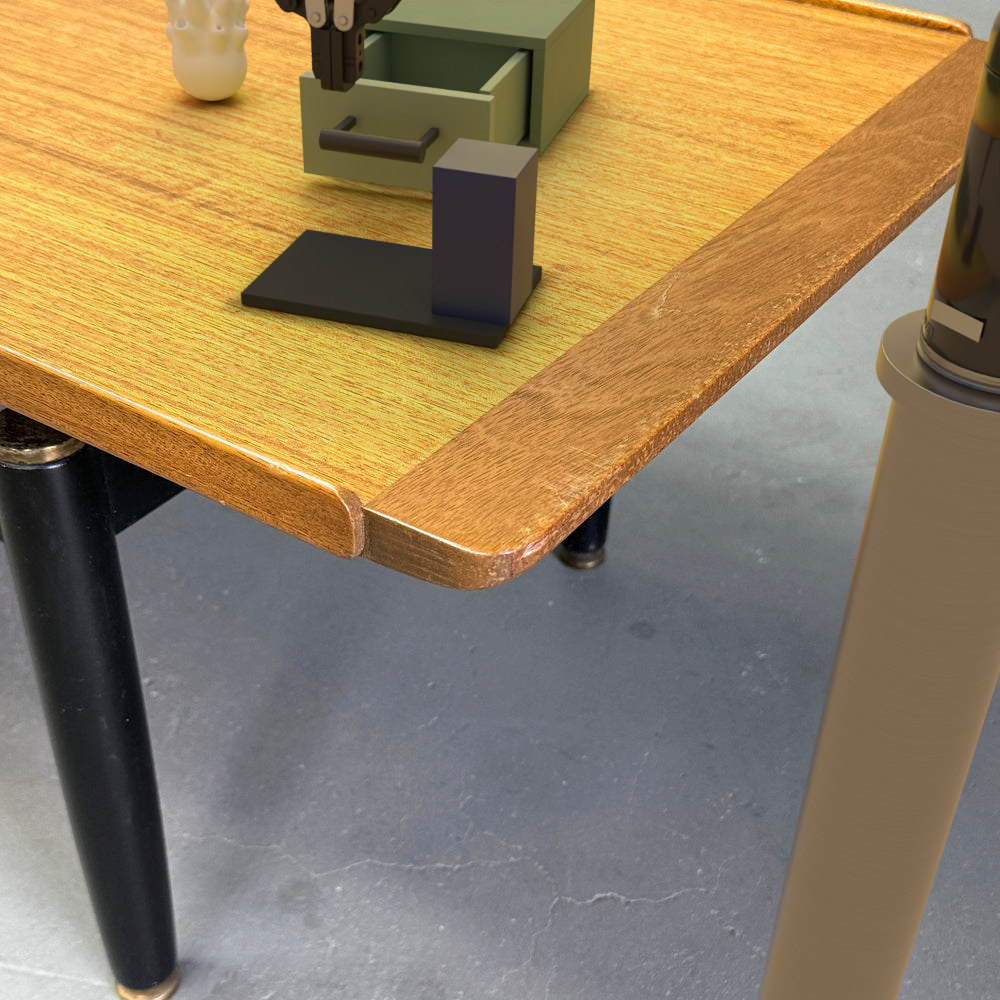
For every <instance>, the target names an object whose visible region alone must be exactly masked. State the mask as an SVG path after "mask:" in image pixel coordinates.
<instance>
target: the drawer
mask: <svg viewBox="0 0 1000 1000" xmlns="http://www.w3.org/2000/svg"><path fill="white" fill-rule="evenodd" d="M533 52H534V50H532V49H524V48H516V47H507V46H499V45H491V44H483V43H475V42H467V41H458V40H450V39H442V38H434V37H426V36H418V35H410V34H401V33H393V32H385V31H376V32H375V33H373V34H372V35H371V36H369V37H368V38H367V39H365V40H364V56H365V59H364V60H365V70H364V72H363V75H362V77H361V78H360V79H359V80H357V81H356V83H355V85H354V86H353V87H352V88H351V89H350V90H348V91H347V92H346V93H344V92H337V91H329V90H323V89H322V88H321V79H315V76H314V74H313V71H307V70H306V71H303V73H301V74H300V75H299V76H298V81H299V100H300V101H299V102H300V122H301V123H300V124H301V141H302V142H301V143H302V161H303V163H302V165H303V173H304V174H309V175H315V176H322V177H330V178H337V179H343V180H349V181H357V182H361V183H362V182H363V183H369V184H377V185H382V186H390V187H397V188H403V189H404V188H405V189H410V190H417V191H423V192H424V191H425V192H431V193H432V167H433V166H434V164H435V163H436V162H437V161H438V160H439V159H440V158H441V157H442V156H443V155H444V154H445V153H446V151H447V150H448V149H449V148H450V147H451V146H452V145H453V144H454V143H455V142H456V141H457V139H458V138H464V139H471V140H478V141H486V142H493V143H500V144H507V145H515V146H516V145H517V143H518V142H519V141H520V140H521V139H522V137H523V136H524V135H525V134H526V132H527V131H528V130H529V129H530V117H531V96H532V74H533Z"/></svg>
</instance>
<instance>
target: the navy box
mask: <svg viewBox="0 0 1000 1000" xmlns="http://www.w3.org/2000/svg"><path fill="white" fill-rule="evenodd" d="M538 155H539V149H537V148H529V147H522V146H515V145H507V144H500V143H493V142H486V141H478V140H471V139H464V138H458V139H457V141H456V142H455V143H454V144H453V145H452V146H451V147H450V148H449V149H448V150H447V151H446V153H445V154H444V155H443V156H442V157H441V158H440V159H439V160H438V161H437V162H436V163H435V164H434V166H433V167H432V192H431V195H432V196H431V201H432V202H431V205H432V206H431V211H432V212H431V249H432V313H434V314H440V315H446V316H452V317H458V318H464V319H470V320H476V321H482V322H488V323H494V324H500V325H506V326H510V325H512V324H513V323H514V321H515V320H514V319H516V318H517V316H518V315H519V313H520V312H521V310H522V309H523V307H524V305H525V304H526V302H527V301H528V299H529V298H528V296H529V295H530V296H531V294H532V293H533V291H532V274H533V265H534V253H535V231H536V215H537V214H536V213H537V212H536V210H537V192H538V176H539V175H538V173H539V156H538ZM531 292H532V293H531ZM530 293H531V294H530ZM530 296H529V297H530ZM527 298H528V299H527ZM526 300H527V301H526ZM525 301H526V302H525ZM524 303H525V304H524ZM523 304H524V305H523ZM522 306H523V307H522ZM521 308H522V309H521ZM520 309H521V310H520ZM519 311H520V312H519ZM518 312H519V313H518ZM517 314H518V315H517ZM516 315H517V316H516ZM515 317H516V318H515ZM513 320H514V321H513ZM512 322H513V323H512ZM511 323H512V324H511ZM510 327H511V326H510Z"/></svg>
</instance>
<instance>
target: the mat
mask: <svg viewBox="0 0 1000 1000" xmlns="http://www.w3.org/2000/svg"><path fill="white" fill-rule="evenodd" d="M542 277H543V266H542V265H536V264H533V274H532V292H531V293H530V295H529V296H528V298H527V300H526V301H525V303H524V304H523V306H522V308H521V309H520V311H519V312H518V314H517V315H516V317H515V319H517V316H518V315H519V314H520V312H521V310H522V309H523V307H524V305H525V304H526V302H527V301H528V300H529V297H530V296H531V295H532V293H533V291H534V290H535V288H536V287H537V285H538V284H539V282H540V280H541V279H542ZM240 302H241V305H243V306H248V307H254V308H261V309H265V310H271V311H277V312H284V313H290V314H295V315H301V316H306V317H312V318H318V319H324V320H330V321H335V322H341V323H348V324H353V325H358V326H359V325H360V326H365V327H370V328H376V329H383V330H389V331H393V332H400V333H406V334H411V335H417V336H424V337H427V338H428V337H429V338H433V339H441V340H446V341H452V342H458V343H464V344H469V345H475V346H481V347H487V348H492V349H497V348H498V346H499V345H500V343H501V342H502V341H503V338H504V337H505V335H506V334H507V332H508V331H509V329H510V327H511V325H512V324H513V323H514V322H515V319H514V320H513V322H512V323H511V325H510V326H506V325H500V324H494V323H488V322H482V321H476V320H470V319H464V318H458V317H452V316H446V315H440V314H434V313H432V248H430V247H429V248H428V247H422V246H421V247H420V246H416V245H410V244H403V243H397V242H390V241H384V240H379V239H378V240H377V239H372V238H364V237H358V236H353V235H345V234H339V233H333V232H326V231H322V230H321V231H320V230H315V229H309V228H308V229H305V230H304V231H303V232H301V234H300V235H299V236H297V238H296V239H295V240H293V242H292V243H290V244H289V246H287V248H285V250H283V251H282V252H281V254H279V255H278V256H277V257H276V258H275V259H273V261H272V262H271V263H270V264H269V265H268V266H267V267H266V268H265V269H264V270H263V271H261V273H260V274H259V275H257V277H255V279H254V280H252V281H251V283H250V284H248V285H247V286H246V287H245V288H244V289H243V291H241V292H240Z"/></svg>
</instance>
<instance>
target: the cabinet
mask: <svg viewBox="0 0 1000 1000" xmlns="http://www.w3.org/2000/svg"><path fill="white" fill-rule="evenodd" d="M595 10H596V0H401V2H400V3H399V4H398V5H397V7H396V8H395V9H394V10H393V11H392V12H391V13H390V14H388V15H386V16H384V17H383V18H382V20H380V21H379V22H378V23H376V24H370V23H367V24H365V26H364V40H365V39H367V38H368V37H369V36H371V35H372V34H373V33H375V32H376V31H385V32H393V33H401V34H410V35H418V36H426V37H434V38H442V39H450V40H458V41H467V42H475V43H483V44H491V45H499V46H507V47H516V48H524V49H532V50H534V52H533V74H532V96H531V117H530V129H529V130H528V131H527V132H526V134H525V135H524V136H523V137H522V139H521V140H520V141H519V142H518V143H517V145H516V146H522V147H529V148H537V149H539V155H538V157H541V156H542V154H543V153H544V152H545V150H547V148H548V146H549V145H550V144H551V143H552V141H553V140H554V139H555V137H556V136H557V135H558V133H559V132H560V131H561V129H562V128H563V127H564V126H565V125H566V123H567V122H568V120H569V119H570V118H571V117H572V115H573V114H574V113H575V111H576V110H577V109H578V107H579V106H580V105H581V104H582V102H583V101H584V100H585V99H586V97H587V95H589V93H590V84H591V83H590V81H591V69H592V57H593V56H592V54H593V43H594V42H593V41H594V27H595V12H596V11H595Z"/></svg>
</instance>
